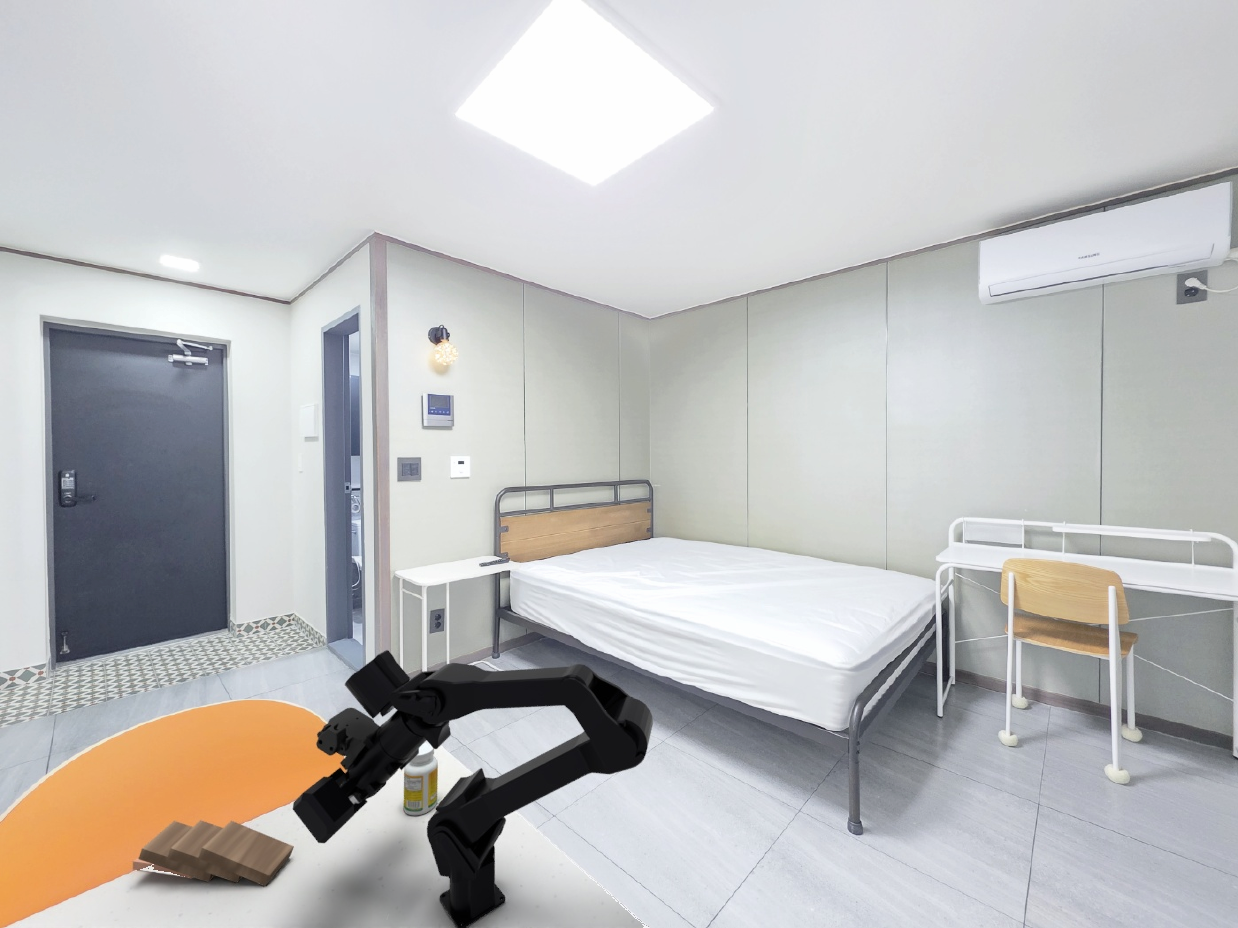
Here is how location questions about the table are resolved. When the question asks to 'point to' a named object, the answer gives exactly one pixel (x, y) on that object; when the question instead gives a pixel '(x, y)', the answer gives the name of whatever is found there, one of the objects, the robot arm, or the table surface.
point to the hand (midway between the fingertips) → (326, 813)
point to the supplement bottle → (421, 782)
